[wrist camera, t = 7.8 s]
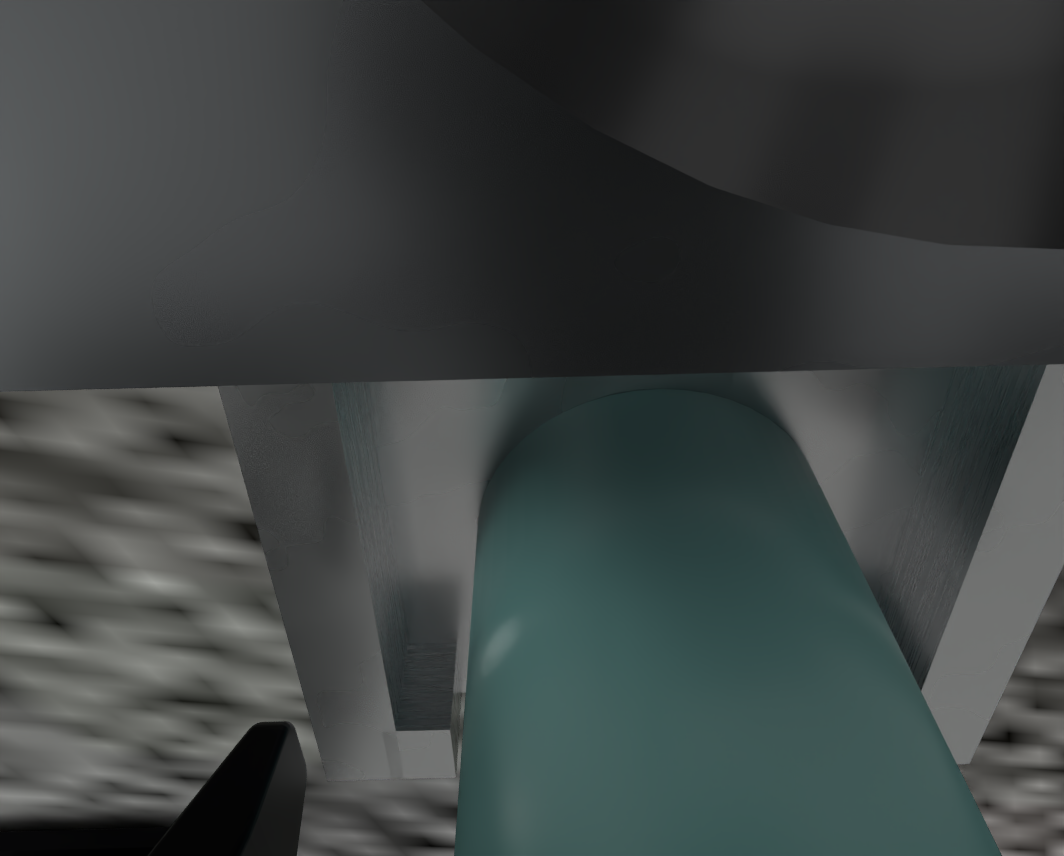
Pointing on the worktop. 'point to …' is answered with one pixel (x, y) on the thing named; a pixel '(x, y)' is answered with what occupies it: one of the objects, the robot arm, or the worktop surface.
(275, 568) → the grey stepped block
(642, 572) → the teal bottle with cap
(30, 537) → the worktop surface
